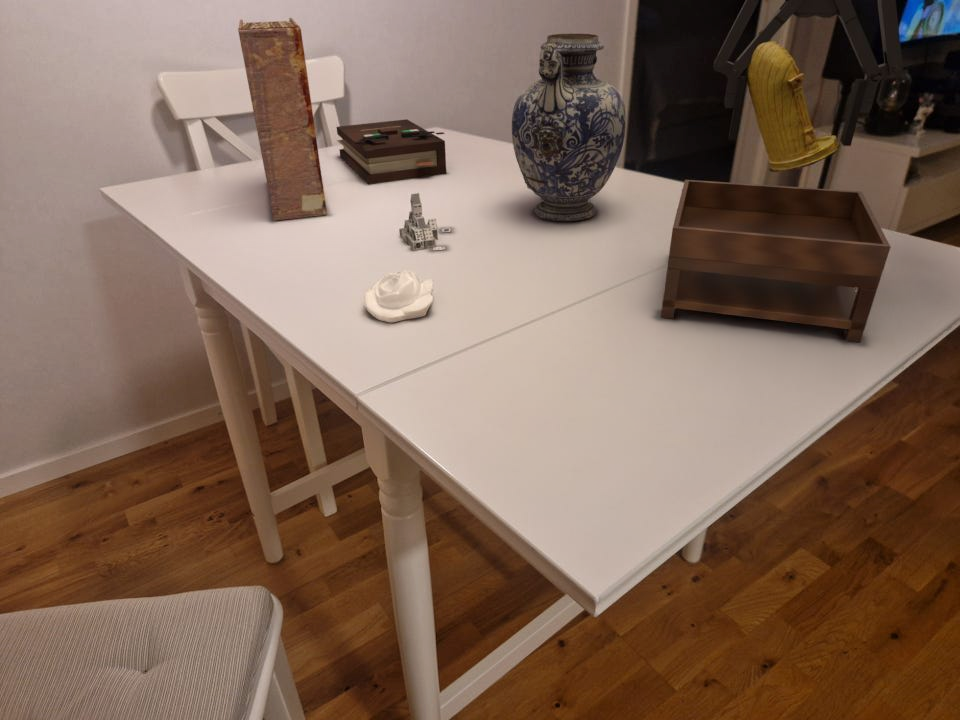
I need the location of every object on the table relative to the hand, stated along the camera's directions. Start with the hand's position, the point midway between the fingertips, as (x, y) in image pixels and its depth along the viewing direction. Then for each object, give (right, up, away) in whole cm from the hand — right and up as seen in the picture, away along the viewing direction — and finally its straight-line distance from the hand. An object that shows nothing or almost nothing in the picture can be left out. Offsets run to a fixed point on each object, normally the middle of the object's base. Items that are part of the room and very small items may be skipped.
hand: (787, 140), depth 75 cm
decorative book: (-55, +18, +70) cm, 91 cm away
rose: (-45, -18, +9) cm, 50 cm away
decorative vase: (-21, +1, +40) cm, 45 cm away
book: (-70, +6, +50) cm, 87 cm away
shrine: (0, -3, +2) cm, 4 cm away
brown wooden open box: (0, -17, +10) cm, 20 cm away
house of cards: (-43, -6, +29) cm, 52 cm away
